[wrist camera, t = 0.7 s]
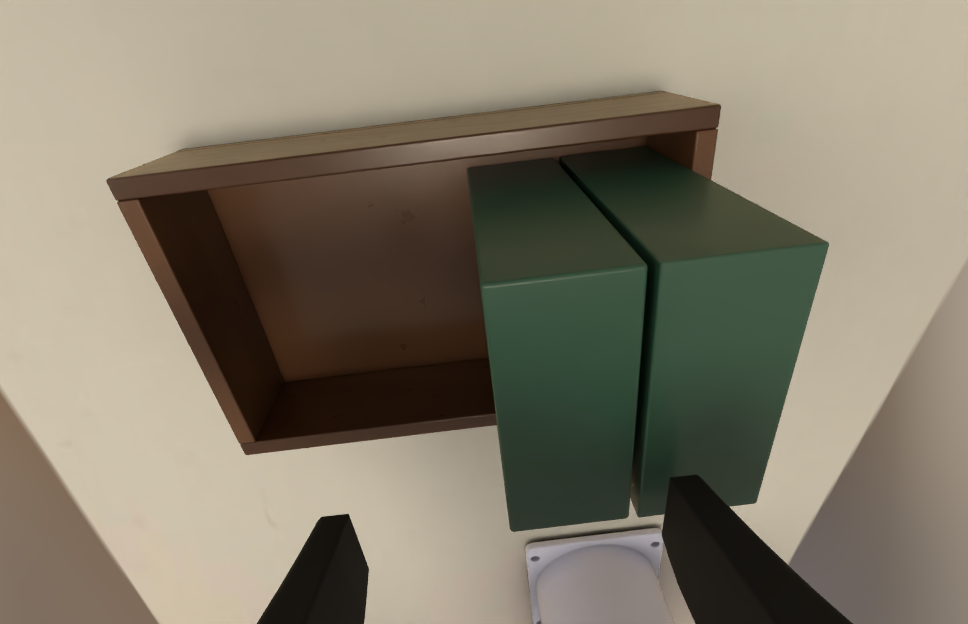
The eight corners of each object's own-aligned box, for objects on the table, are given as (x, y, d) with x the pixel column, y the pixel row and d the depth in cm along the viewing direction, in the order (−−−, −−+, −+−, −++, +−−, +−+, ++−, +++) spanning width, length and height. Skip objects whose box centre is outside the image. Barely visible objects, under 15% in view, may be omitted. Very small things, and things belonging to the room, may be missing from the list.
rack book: (558, 329, 20) (629, 519, 12) (487, 337, 20) (510, 533, 12) (553, 156, 16) (650, 264, 8) (466, 167, 16) (480, 285, 8)
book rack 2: (635, 319, 20) (757, 504, 12) (563, 328, 20) (637, 518, 12) (646, 145, 16) (831, 242, 8) (559, 155, 16) (660, 263, 8)
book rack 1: (642, 343, 21) (681, 403, 17) (279, 387, 21) (244, 456, 17) (662, 90, 16) (722, 103, 12) (180, 149, 16) (103, 179, 12)
